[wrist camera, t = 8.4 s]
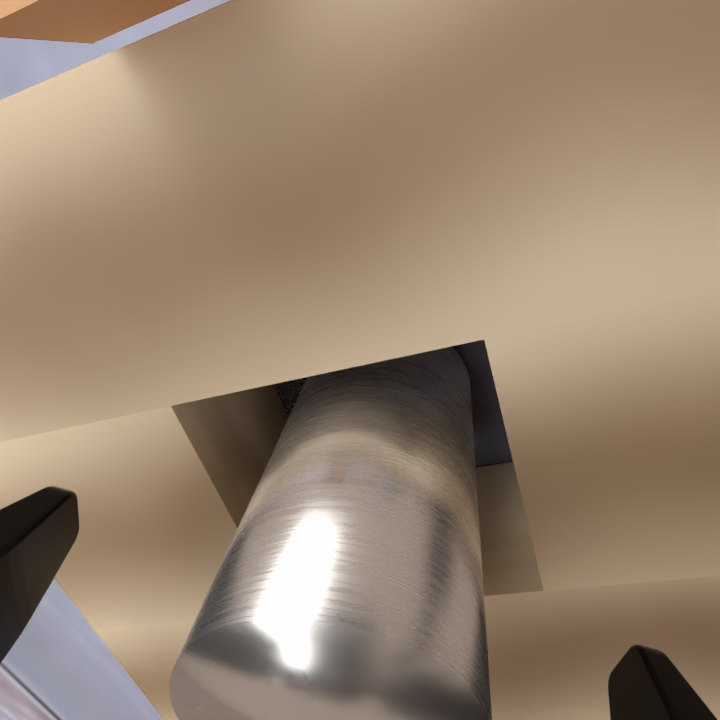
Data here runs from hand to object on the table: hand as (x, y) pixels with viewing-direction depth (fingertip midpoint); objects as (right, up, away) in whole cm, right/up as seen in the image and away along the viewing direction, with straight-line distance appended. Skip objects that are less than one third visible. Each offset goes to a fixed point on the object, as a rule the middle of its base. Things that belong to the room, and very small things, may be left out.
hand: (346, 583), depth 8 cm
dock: (+1, +3, +5) cm, 6 cm away
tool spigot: (+1, +3, +5) cm, 6 cm away
